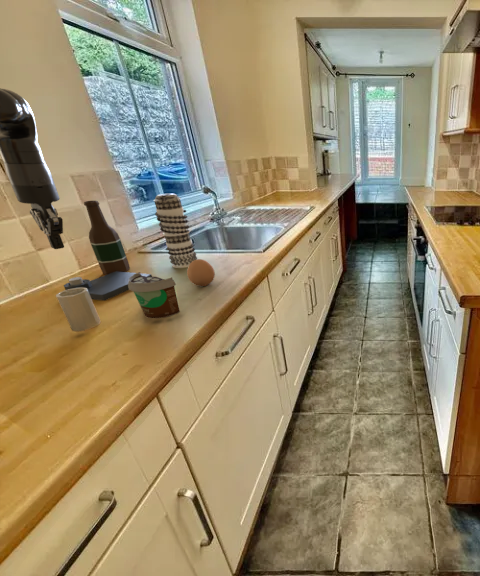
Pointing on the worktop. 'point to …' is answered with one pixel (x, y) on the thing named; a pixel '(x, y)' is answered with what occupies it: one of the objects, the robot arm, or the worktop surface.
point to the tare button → (76, 281)
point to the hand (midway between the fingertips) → (58, 248)
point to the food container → (154, 295)
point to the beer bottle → (105, 242)
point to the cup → (78, 309)
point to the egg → (200, 272)
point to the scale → (106, 285)
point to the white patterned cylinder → (175, 230)
